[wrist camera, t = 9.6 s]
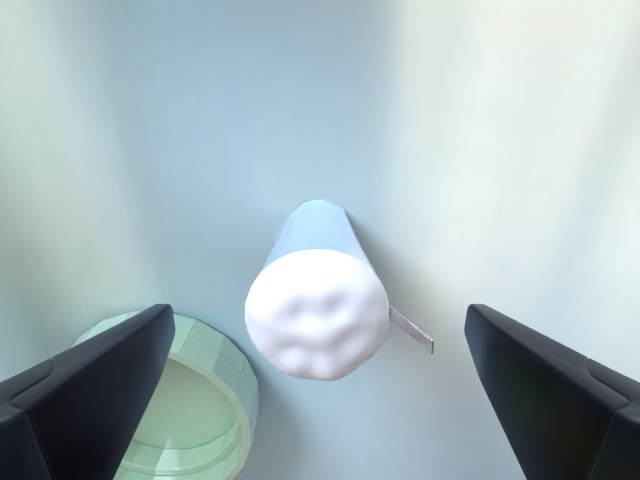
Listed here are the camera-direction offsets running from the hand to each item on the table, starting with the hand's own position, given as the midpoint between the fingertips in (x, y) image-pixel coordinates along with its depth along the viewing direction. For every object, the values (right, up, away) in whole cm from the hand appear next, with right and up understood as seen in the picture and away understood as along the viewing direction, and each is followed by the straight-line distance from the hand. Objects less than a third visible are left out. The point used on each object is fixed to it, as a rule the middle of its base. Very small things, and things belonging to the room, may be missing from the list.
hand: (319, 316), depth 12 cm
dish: (-9, -7, +12) cm, 16 cm away
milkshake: (0, +3, +8) cm, 9 cm away
